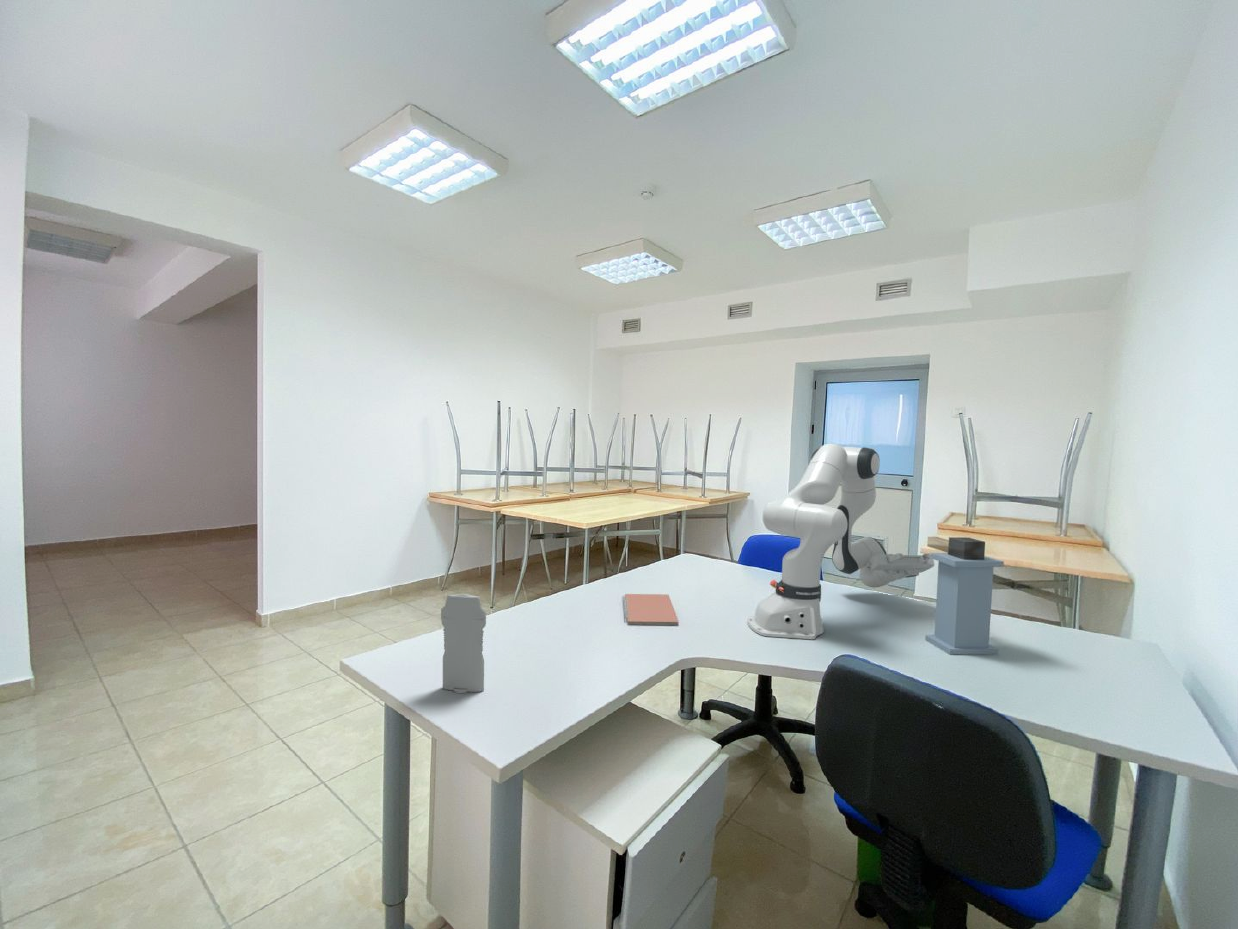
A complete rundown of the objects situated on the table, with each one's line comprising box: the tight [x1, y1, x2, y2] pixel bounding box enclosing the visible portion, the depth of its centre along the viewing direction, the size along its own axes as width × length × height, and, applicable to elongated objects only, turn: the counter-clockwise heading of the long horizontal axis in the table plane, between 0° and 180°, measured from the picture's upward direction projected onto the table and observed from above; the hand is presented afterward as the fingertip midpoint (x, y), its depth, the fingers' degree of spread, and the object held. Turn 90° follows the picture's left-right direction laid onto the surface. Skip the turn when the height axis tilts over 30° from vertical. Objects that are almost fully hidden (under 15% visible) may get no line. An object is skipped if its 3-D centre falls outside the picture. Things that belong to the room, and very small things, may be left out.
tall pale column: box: [440, 593, 487, 694], centre depth 114 cm, size 11×4×22 cm, turn 83°
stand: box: [924, 552, 1005, 656], centre depth 143 cm, size 14×10×26 cm
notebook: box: [621, 593, 680, 626], centre depth 169 cm, size 27×17×2 cm, turn 1°
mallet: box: [926, 536, 986, 560], centre depth 148 cm, size 6×17×5 cm, turn 4°
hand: (914, 555), depth 164 cm, fingers open, 8 cm apart
